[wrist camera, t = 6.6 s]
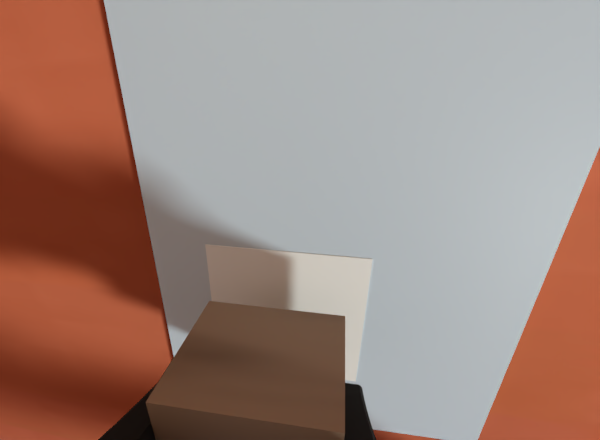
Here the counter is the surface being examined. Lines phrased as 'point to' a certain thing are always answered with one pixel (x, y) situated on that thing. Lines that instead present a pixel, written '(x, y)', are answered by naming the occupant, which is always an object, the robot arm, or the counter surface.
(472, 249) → the board
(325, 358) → the walnut block
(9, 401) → the counter surface
